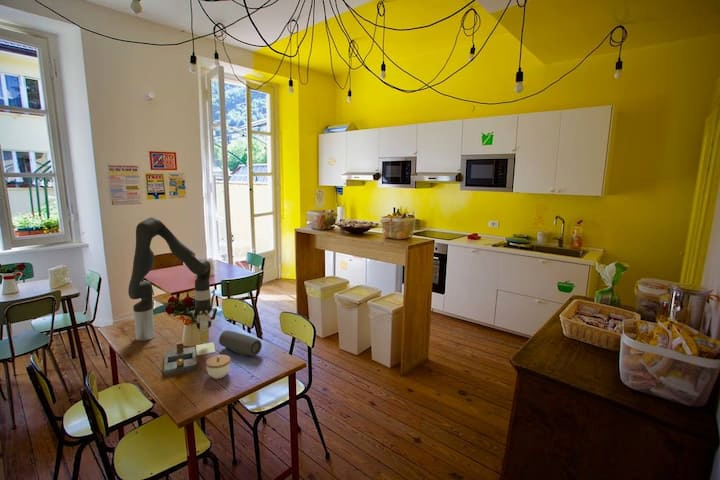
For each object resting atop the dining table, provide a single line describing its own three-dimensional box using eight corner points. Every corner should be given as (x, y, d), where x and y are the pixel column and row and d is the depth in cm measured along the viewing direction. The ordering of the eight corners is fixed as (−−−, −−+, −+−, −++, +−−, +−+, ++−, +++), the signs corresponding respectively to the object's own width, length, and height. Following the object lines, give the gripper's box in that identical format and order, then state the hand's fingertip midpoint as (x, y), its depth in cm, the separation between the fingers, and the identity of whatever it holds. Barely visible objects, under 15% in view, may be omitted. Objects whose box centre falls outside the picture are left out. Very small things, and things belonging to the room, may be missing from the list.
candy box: (200, 337, 192) (198, 310, 189) (208, 335, 194) (207, 309, 191) (200, 344, 184) (199, 316, 181) (209, 342, 186) (208, 315, 183)
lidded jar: (212, 368, 171) (211, 350, 169) (234, 369, 170) (233, 351, 169) (202, 381, 160) (201, 362, 158) (225, 382, 160) (224, 363, 158)
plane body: (165, 356, 180) (164, 344, 179) (195, 351, 187) (194, 339, 185) (163, 376, 163) (162, 362, 162) (197, 370, 169) (196, 356, 168)
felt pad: (196, 345, 193) (195, 345, 193) (213, 342, 197) (213, 342, 197) (196, 355, 182) (196, 355, 182) (215, 352, 186) (215, 351, 186)
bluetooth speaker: (262, 353, 187) (262, 336, 185) (249, 361, 178) (249, 343, 177) (231, 343, 197) (231, 326, 195) (218, 350, 189) (217, 333, 187)
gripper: (187, 301, 178) (189, 333, 181) (218, 298, 185) (219, 328, 187) (187, 296, 185) (189, 327, 188) (216, 293, 191) (217, 323, 194)
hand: (204, 327), depth 188 cm, fingers closed on candy box, 4 cm apart
